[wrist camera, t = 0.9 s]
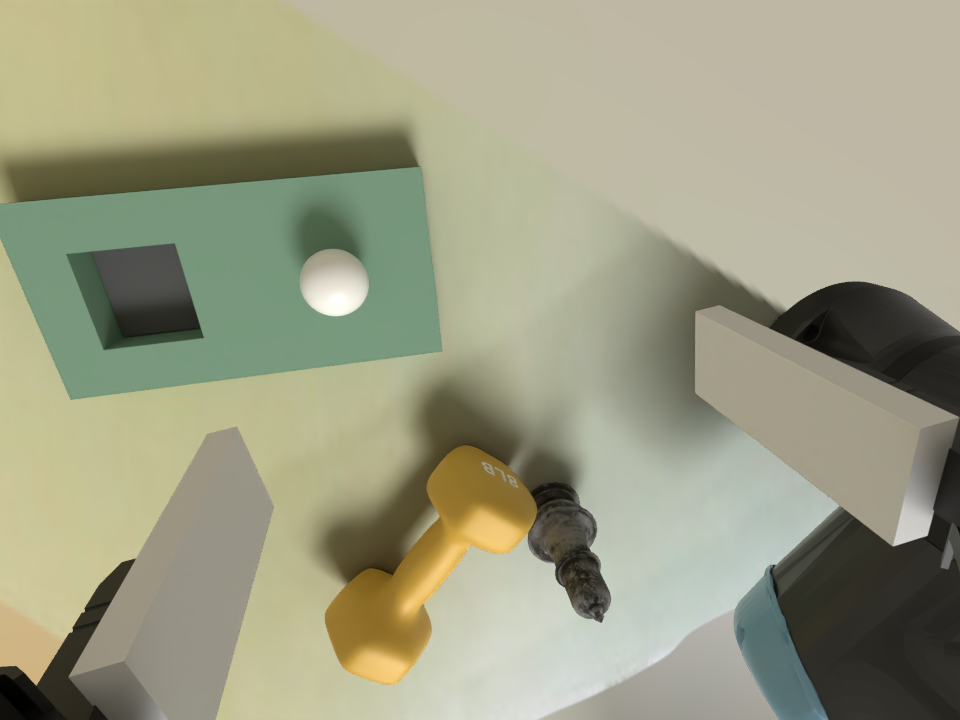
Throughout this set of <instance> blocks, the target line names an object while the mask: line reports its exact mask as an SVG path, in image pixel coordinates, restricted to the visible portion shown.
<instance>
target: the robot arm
mask: <svg viewBox="0 0 960 720" xmlns="http://www.w3.org/2000/svg"><path fill="white" fill-rule="evenodd" d="M695 393H696V394H697V395H698V396H700V397H701V398H702V399H703V400H705V401H706V402H707V403H709V404H710V405H711V406H712V407H714V408H715V409H716V410H718V411H719V412H720V413H721V414H723V415H724V416H725V417H727V418H728V419H729V420H730V421H732V422H733V423H734V424H736V425H737V426H738V427H739V428H741V429H742V430H743V431H745V432H746V433H747V434H749V435H750V436H751V437H752V438H754V439H755V440H756V441H758V442H759V443H760V444H761V445H763V446H764V447H765V448H767V449H768V450H769V451H770V452H772V453H773V454H774V455H776V456H777V457H778V458H779V459H781V460H782V461H783V462H785V463H786V464H787V465H788V466H790V467H791V468H792V469H794V470H795V471H796V472H797V473H799V474H800V475H801V476H803V477H804V478H805V479H806V480H808V481H809V482H810V483H812V484H813V485H814V486H816V487H817V488H818V489H819V490H821V491H822V492H823V493H825V494H826V495H827V496H828V497H830V498H831V499H832V500H834V501H835V502H836V503H837V504H839V505H840V506H839V507H838V508H837V509H836V510H835V511H834V512H833V513H831V514H830V515H829V516H828V517H827V518H826V519H825V520H824V521H823V522H822V523H821V524H820V525H819V526H818V527H816V528H815V529H814V530H813V531H812V532H811V533H810V534H809V535H808V536H807V537H806V538H805V539H804V540H803V541H802V542H800V543H799V544H798V545H797V546H796V547H795V548H794V549H793V550H792V551H791V552H790V553H789V554H788V555H787V556H785V557H784V558H783V559H782V560H781V561H780V562H779V563H778V564H777V565H770V566H768V567H767V568H766V570H765V574H764V576H763V577H762V578H761V579H760V580H759V581H758V582H757V583H756V585H755V586H754V587H753V588H752V589H751V590H750V591H749V592H748V593H747V594H746V595H745V596H744V597H743V598H742V599H741V600H740V602H739V603H738V605H737V607H736V609H735V613H734V631H735V635H736V639H737V642H738V645H739V647H740V650H741V652H742V655H743V658H744V660H745V662H746V664H747V666H748V668H749V670H750V672H751V674H752V676H753V678H754V680H755V682H756V683H757V685H758V687H759V689H760V690H761V692H762V694H763V695H764V697H765V698H766V700H767V702H768V703H769V705H770V706H771V708H772V710H773V711H774V713H775V714H776V716H777V717H778V718H779V720H960V332H959V331H958V330H956V329H955V328H954V327H952V326H951V325H949V324H948V323H947V322H945V321H944V320H942V319H941V318H940V317H938V316H937V315H935V314H934V313H933V312H931V311H929V310H928V309H927V308H926V307H924V306H923V305H921V304H920V303H918V302H917V301H916V300H914V299H913V298H912V297H910V296H908V295H906V294H904V293H902V292H900V291H897V290H895V289H891V288H887V287H883V286H879V285H876V284H871V283H867V282H844V283H839V284H834V285H831V286H828V287H825V288H823V289H820V290H818V291H816V292H814V293H812V294H810V295H808V296H807V297H805V298H803V299H802V300H800V301H799V302H798V303H796V304H795V305H794V306H792V307H791V308H790V309H789V310H788V311H786V312H785V313H784V314H783V315H782V316H781V317H780V318H779V319H778V320H777V322H776V323H775V324H774V325H773V326H772V328H771V329H769V328H767V327H765V326H763V325H761V324H759V323H757V322H754V321H752V320H750V319H748V318H746V317H744V316H742V315H739V314H737V313H735V312H733V311H731V310H729V309H727V308H724V307H722V306H720V305H718V306H714V307H710V308H706V309H702V310H698V311H695ZM273 508H274V506H273V503H272V501H271V499H270V497H269V495H268V493H267V490H266V488H265V486H264V484H263V482H262V480H261V477H260V475H259V473H258V471H257V469H256V467H255V464H254V462H253V460H252V458H251V456H250V454H249V451H248V449H247V447H246V445H245V443H244V441H243V438H242V436H241V434H240V432H239V430H238V428H237V427H233V428H229V429H226V430H222V431H218V432H214V433H210V434H207V436H206V438H205V439H204V441H203V443H202V444H201V446H200V448H199V450H198V451H197V453H196V455H195V457H194V458H193V460H192V462H191V464H190V465H189V467H188V469H187V471H186V472H185V474H184V476H183V478H182V479H181V481H180V483H179V485H178V486H177V488H176V490H175V492H174V493H173V495H172V497H171V499H170V500H169V502H168V504H167V506H166V507H165V509H164V511H163V513H162V514H161V516H160V518H159V520H158V521H157V523H156V525H155V527H154V528H153V530H152V532H151V534H150V535H149V537H148V539H147V541H146V542H145V544H144V546H143V548H142V549H141V551H140V553H139V555H138V556H137V558H136V559H132V560H129V561H125V562H122V563H121V564H120V565H119V566H118V567H117V568H116V569H115V570H114V571H113V572H112V573H111V574H110V575H109V576H108V577H107V578H106V579H105V580H104V581H103V582H102V583H101V584H100V585H99V586H98V588H97V589H96V591H95V592H94V594H93V596H92V597H91V599H90V600H89V602H88V604H87V605H86V607H85V608H84V609H85V612H84V613H81V615H80V617H79V618H78V620H77V621H76V623H75V625H74V626H73V628H72V629H73V632H72V633H69V634H68V636H67V637H66V639H65V641H64V642H63V644H62V645H61V647H60V649H59V650H58V652H57V654H56V655H55V657H54V659H53V660H52V662H51V663H50V665H49V666H48V668H47V670H46V671H45V673H44V674H43V676H42V678H41V679H40V681H39V682H38V684H37V686H36V685H35V684H34V683H33V682H32V681H31V680H30V679H29V678H28V677H27V675H26V674H25V673H24V672H23V671H21V670H20V669H19V668H18V667H17V666H7V667H0V720H215V719H216V715H217V712H218V708H219V705H220V701H221V697H222V694H223V690H224V686H225V683H226V679H227V675H228V672H229V668H230V664H231V661H232V657H233V654H234V650H235V646H236V643H237V639H238V635H239V632H240V628H241V624H242V621H243V617H244V614H245V610H246V606H247V603H248V599H249V595H250V592H251V588H252V584H253V581H254V577H255V573H256V570H257V566H258V563H259V559H260V555H261V552H262V548H263V544H264V541H265V537H266V533H267V530H268V526H269V523H270V519H271V515H272V512H273Z"/></svg>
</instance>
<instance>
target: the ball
mask: <svg viewBox="0 0 960 720" xmlns="http://www.w3.org/2000/svg"><path fill="white" fill-rule="evenodd" d="M299 283H300V289H301V293H302V295H303V297H304V299H305V300H306V302H307V303H308V304H309V305H310V306H311V307H312V308H313V309H315V310H316V311H318V312H320V313H322V314H325V315H328V316H343V315H347V314H349V313H351V312H353V311H355V310H356V309H357V308H359V307H360V306H361V305H362V303H363V302H364V300H365V298H366V296H367V294H368V289H369V278H368V274H367V271H366V269H365V267H364V266H363V264H362V263H361V262H360V260H359V259H358V258H356V257H355V256H354V255H352V254H351V253H349V252H347V251H344V250H340V249H325V250H322V251H319V252H317V253H315V254H314V255H312V256H311V257H310V258H309V259H308V260H307V261H306V262H305V264H304V265H303V267H302V270H301V273H300V278H299Z"/></svg>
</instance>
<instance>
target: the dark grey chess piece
mask: <svg viewBox="0 0 960 720" xmlns="http://www.w3.org/2000/svg"><path fill="white" fill-rule="evenodd" d="M530 494H531V495H532V497H533V498H534V500H535V502H536V506H537V514H536V518H535V521H534V523H533V525H532V527H531V529H530V530H529V533H528V545H529V549H530V550H531V552H532V553H533V555H534V556H536V557H537V558H538V559H540V560H542V561H544V562H547V563H555V566H556V570H555V576H556V580H557V581H558V583H559V584H560V585H562V586H563V587H565V589H566V591H567V594H568V596H569V599H570V601H571V604H572V606H573V608H574V610H575V611H576V613H577V614H578V615H580V616H581V617H584V618H586V619H595V620H596V621H598V622H600V623H602V621H603V618H604V615H603V614H604V613H605V612H606V611H607V610H608V608H609V606H610V603H611V596H610V592H609V590H608V587H607V585H606V583H605V581H604V579H603V577H602V575H601V573H600V569H601V563H600V560H599V558H598V556H596V555H595V554H594V553H592V552H591V551H590V549H589V548H590V546H591V545H592V544H593V542H594V539H595V537H596V532H597V526H596V521H595V519H594V518H593V516H592V514H591V513H589V512H588V511H587V510H586V509H584V508H582V507H581V506H580V502H579V497H578V495H577V494H576V492H575V491H574V490H573V489H572V488H571V487H569V486H567V485H565V484H561V483H548V484H545V485H542V486H540V487H538V488H536V489H534V490H533V491H532V492H531V493H530Z"/></svg>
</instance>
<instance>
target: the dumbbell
mask: <svg viewBox="0 0 960 720" xmlns="http://www.w3.org/2000/svg"><path fill="white" fill-rule="evenodd" d="M427 493H428V496H429V498H430V500H431V502H432V504H433V506H434V507H435V509H436V510H437V512H438V514H439V515H440V517H439V519H438V520H437V521H436V522H435V523H434V524H433V525H432V526H430V528H429V529H428V530H427V531H426V532H425V533H424V534H423V535H422V537H421V538H420V539H419V540H418V541H417V543H416V544H415V545H414V546H413V547H412V549H411V550H410V551H409V553H408V554H407V555H406V557H405V558H404V559H403V561H402V562H401V563H400V565H399V566H398V568H397V569H396V571H395V573H394V574H393V575H391V574H389V573H387V572H384V571H381V570H378V569H373V568H370V569H366V570H364V571H363V572H361V573H360V574H358V575H357V576H356V577H355V578H354V579H353V580H352V581H350V582H349V583H348V584H347V585H346V586H345V587H344V588H343V589H342V591H341V592H340V593H339V594H338V595H337V596H336V598H335V599H334V600H333V601H332V603H331V604H330V605H329V607H328V608H327V610H326V613H325V624H326V628H327V631H328V634H329V637H330V640H331V643H332V645H333V648H334V651H335V653H336V656H337V658H338V660H339V662H340V664H341V665H342V667H343V668H344V669H345V670H347V671H348V672H350V673H352V674H354V675H357V676H359V677H362V678H365V679H368V680H371V681H374V682H377V683H381V684H386V685H391V684H396V683H398V682H399V681H400V680H401V679H402V678H403V677H404V676H405V675H406V674H407V673H408V672H409V670H410V669H411V668H412V667H413V665H414V664H415V663H416V661H417V660H418V658H419V657H420V655H421V654H422V652H423V650H424V649H425V647H426V645H427V643H428V641H429V639H430V636H431V633H432V627H431V622H430V619H429V616H428V614H427V611H426V609H425V607H424V605H423V603H424V602H425V601H427V600H428V599H429V598H430V597H431V596H432V595H433V594H434V592H435V591H436V590H437V589H438V588H439V587H440V585H441V584H442V583H443V582H444V581H445V580H446V578H447V577H448V576H449V575H450V573H451V572H452V571H453V570H454V569H455V567H456V566H457V565H458V564H459V562H460V561H461V560H462V558H463V556H464V555H465V553H466V552H467V550H468V549H469V547H470V546H471V545H473V546H475V547H477V548H479V549H482V550H484V551H487V552H490V553H494V554H505V553H507V552H510V551H511V550H512V549H514V548H515V547H516V546H517V545H518V544H519V542H520V541H521V540H522V539H523V538H524V537H525V535H526V534H527V533H528V532H529V530H530V529H531V527H532V525H533V523H534V521H535V518H536V514H537V506H536V502H535V500H534V498H533V497H532V495H531V494H530V492H529V491H528V490H527V488H526V487H525V486H524V485H523V483H522V482H521V481H520V479H519V478H518V477H517V476H516V475H515V473H514V472H513V471H512V470H511V469H510V468H509V467H508V466H506V465H505V464H504V463H502V462H501V461H499V460H498V459H496V458H494V457H492V456H491V455H489V454H487V453H485V452H483V451H482V450H480V449H478V448H475V447H473V446H470V445H462V446H459V447H457V448H455V449H454V450H452V451H451V452H450V453H448V454H447V455H446V456H445V457H444V458H443V460H442V461H441V462H440V463H439V465H438V466H437V467H436V469H435V470H434V471H433V473H432V474H431V476H430V478H429V479H428V482H427Z"/></svg>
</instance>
